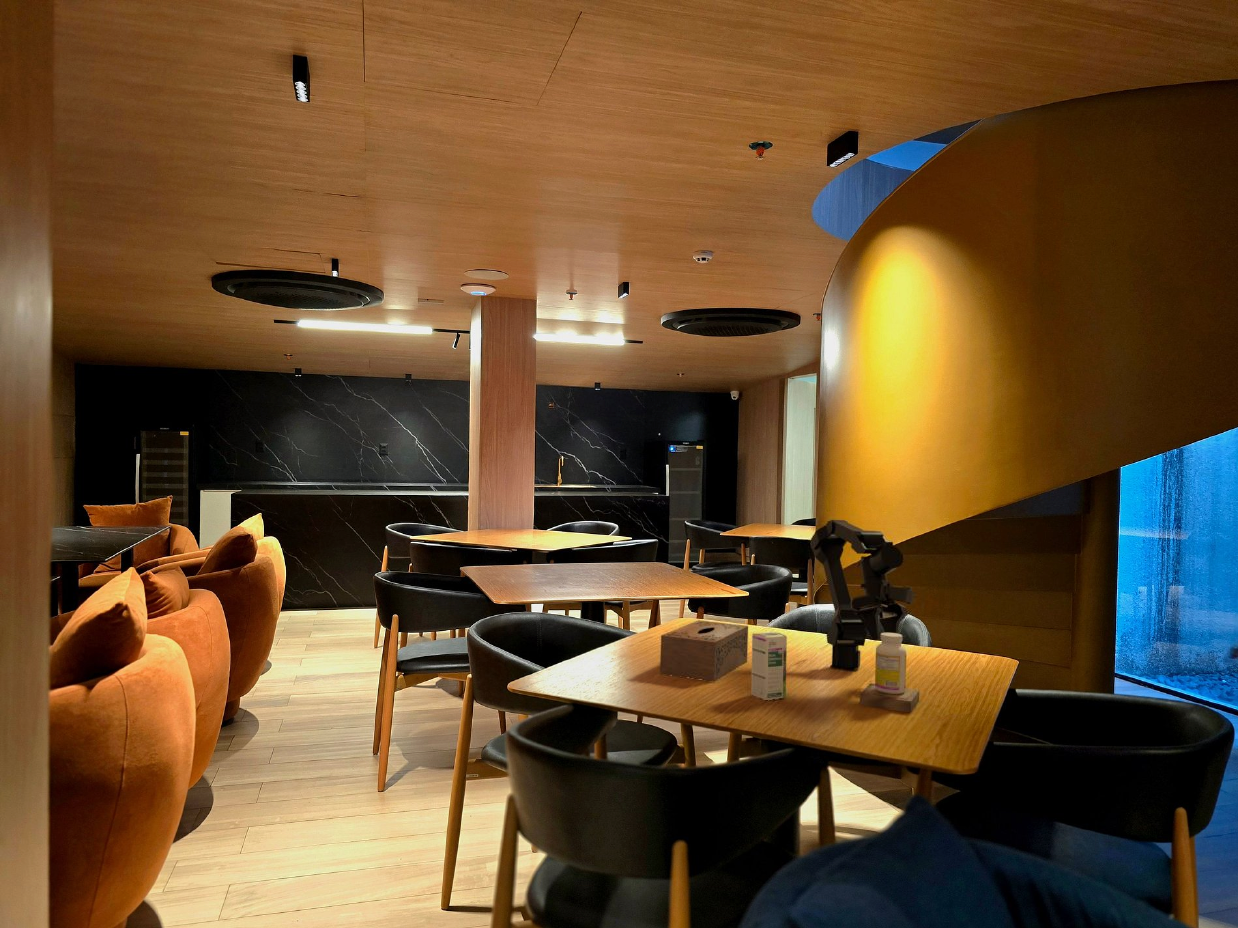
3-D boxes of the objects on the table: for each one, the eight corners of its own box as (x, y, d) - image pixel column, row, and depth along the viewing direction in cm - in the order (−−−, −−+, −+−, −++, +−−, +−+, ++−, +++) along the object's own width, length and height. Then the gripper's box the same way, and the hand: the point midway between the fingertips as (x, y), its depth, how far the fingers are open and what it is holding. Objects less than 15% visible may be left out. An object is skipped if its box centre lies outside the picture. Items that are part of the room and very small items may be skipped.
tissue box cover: (714, 683, 206) (715, 642, 206) (659, 675, 213) (661, 635, 213) (747, 662, 229) (748, 625, 229) (697, 656, 236) (698, 620, 236)
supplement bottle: (889, 685, 197) (891, 630, 197) (911, 693, 191) (913, 636, 191) (868, 688, 194) (870, 632, 194) (890, 696, 188) (892, 638, 188)
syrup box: (765, 701, 190) (767, 636, 190) (750, 694, 195) (752, 631, 196) (786, 698, 193) (788, 635, 193) (770, 692, 198) (771, 630, 198)
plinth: (859, 704, 190) (860, 692, 190) (870, 693, 199) (870, 682, 199) (910, 712, 185) (911, 700, 185) (919, 701, 194) (919, 689, 194)
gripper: (888, 565, 199) (899, 631, 193) (922, 579, 212) (933, 641, 206) (845, 575, 206) (854, 639, 200) (880, 588, 219) (890, 648, 213)
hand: (885, 642), depth 205 cm, fingers open, 9 cm apart
